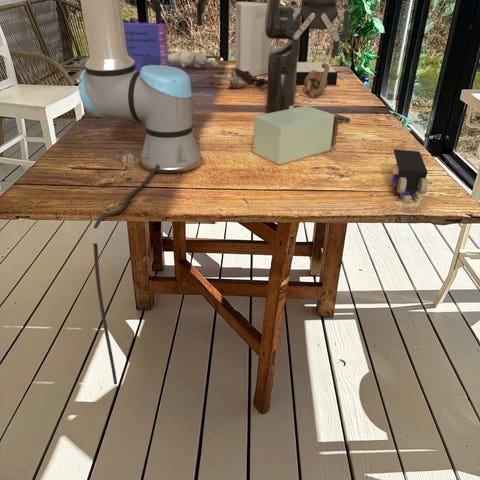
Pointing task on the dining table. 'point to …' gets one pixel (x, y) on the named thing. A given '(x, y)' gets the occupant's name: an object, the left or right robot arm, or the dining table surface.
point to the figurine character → (409, 173)
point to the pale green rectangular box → (292, 134)
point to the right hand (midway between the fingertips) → (314, 56)
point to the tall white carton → (251, 38)
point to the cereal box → (146, 43)
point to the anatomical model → (316, 81)
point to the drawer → (337, 120)
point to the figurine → (241, 79)
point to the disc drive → (306, 67)
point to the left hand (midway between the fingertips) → (179, 24)
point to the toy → (190, 59)
